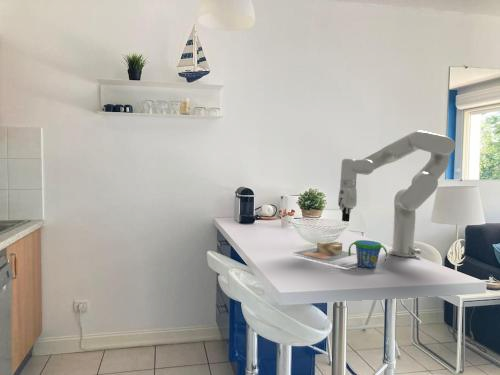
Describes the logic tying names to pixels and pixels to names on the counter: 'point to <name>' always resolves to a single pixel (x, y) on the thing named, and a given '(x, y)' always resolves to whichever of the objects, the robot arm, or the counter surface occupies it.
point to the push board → (323, 254)
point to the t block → (330, 247)
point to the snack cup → (367, 252)
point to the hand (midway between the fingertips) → (345, 221)
